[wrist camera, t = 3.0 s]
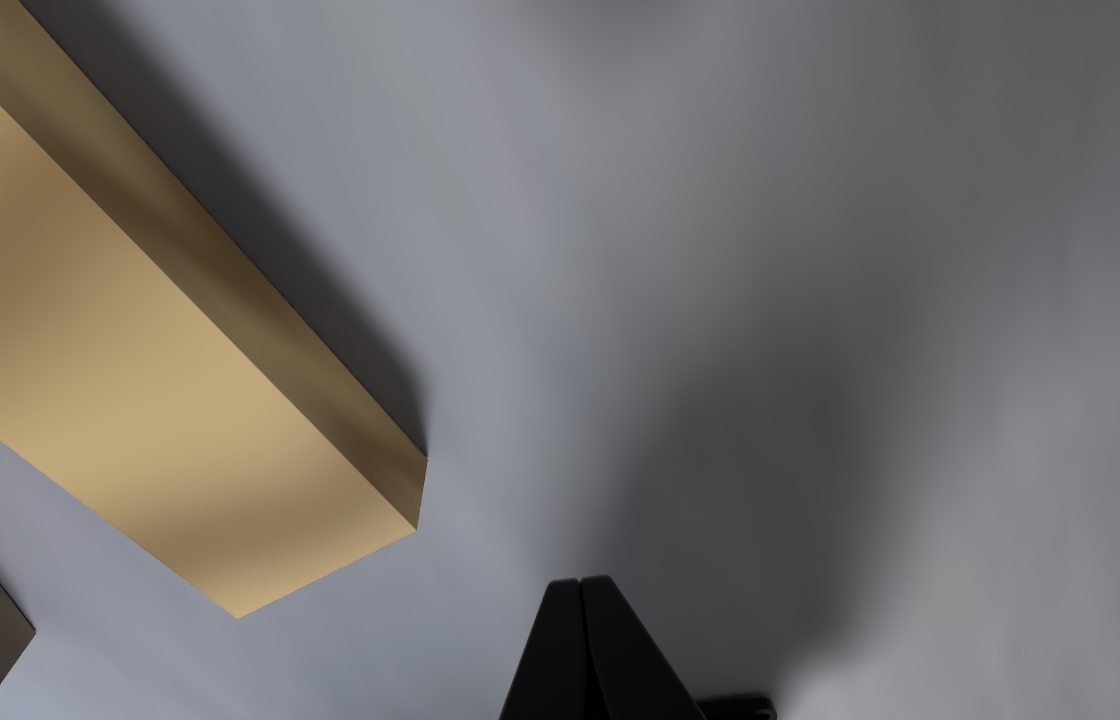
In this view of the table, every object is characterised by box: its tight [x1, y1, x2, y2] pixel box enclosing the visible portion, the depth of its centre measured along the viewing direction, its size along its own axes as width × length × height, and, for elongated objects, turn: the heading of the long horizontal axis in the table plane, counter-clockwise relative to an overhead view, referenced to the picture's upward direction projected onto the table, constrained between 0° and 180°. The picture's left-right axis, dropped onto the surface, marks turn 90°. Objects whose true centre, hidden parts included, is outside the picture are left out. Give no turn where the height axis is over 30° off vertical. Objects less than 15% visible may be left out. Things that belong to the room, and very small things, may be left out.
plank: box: [0, 0, 428, 619], centre depth 12 cm, size 17×5×3 cm, turn 30°
